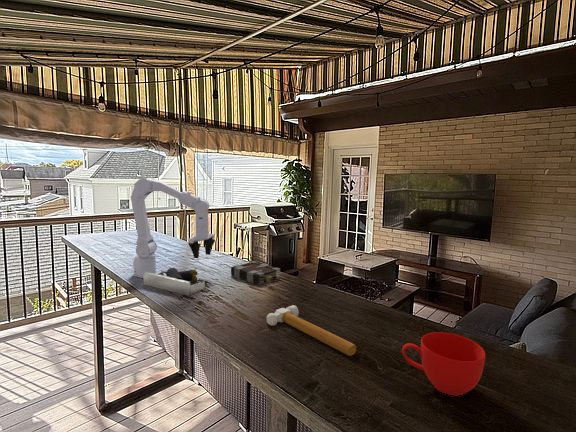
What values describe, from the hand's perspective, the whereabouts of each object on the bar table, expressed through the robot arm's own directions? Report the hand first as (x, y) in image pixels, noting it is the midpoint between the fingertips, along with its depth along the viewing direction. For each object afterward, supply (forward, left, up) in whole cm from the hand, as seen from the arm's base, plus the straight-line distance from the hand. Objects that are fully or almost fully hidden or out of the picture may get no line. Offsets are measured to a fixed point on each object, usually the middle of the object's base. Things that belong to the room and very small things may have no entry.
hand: (202, 256), depth 153 cm
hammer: (+67, -26, -10) cm, 72 cm away
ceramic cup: (+102, -33, -9) cm, 108 cm away
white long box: (0, -16, -9) cm, 19 cm away
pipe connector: (-1, -11, -10) cm, 15 cm away
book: (+25, +11, -10) cm, 29 cm away
